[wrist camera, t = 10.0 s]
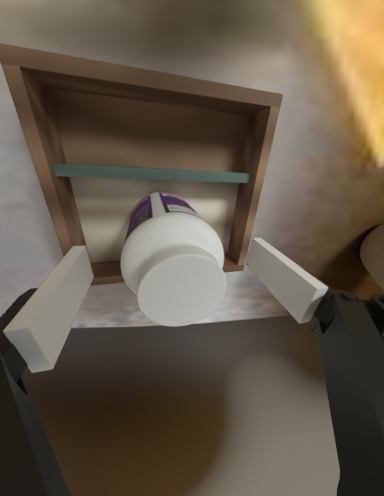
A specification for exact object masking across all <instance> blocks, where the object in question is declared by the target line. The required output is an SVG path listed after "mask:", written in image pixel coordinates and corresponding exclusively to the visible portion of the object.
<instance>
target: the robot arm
mask: <svg viewBox="0 0 384 496" xmlns="http://www.w3.org/2000/svg"><path fill="white" fill-rule="evenodd" d="M246 265H247V266H248V267H249V268H250V269H251V271H252V272H253V273H254V274H255V275H256V276H257V277H258V278H259V279H260V281H261V282H262V283H263V284H264V285H265V286H266V287H267V288H268V289H269V291H270V292H271V293H272V294H273V295H274V296H275V297H276V298H277V299H278V300H279V302H280V303H281V304H282V305H283V306H284V307H285V308H286V309H287V310H288V312H289V313H290V314H291V315H292V316H293V317H294V318H295V319H296V320H297V322H298V323H299V324H300V323H305V322H310V320H311V318H312V316H313V315H315V316H316V317H317V318H318V319H317V321H316V322H315V324H314V326H313V328H312V329H311V332H312V333H313V332H314V330H315V329H317V333H316V334H317V335H318V340H319V346H320V352H321V358H322V364H323V369H324V376H325V382H326V388H327V394H328V400H329V406H330V412H331V418H332V424H333V430H334V436H335V442H336V448H337V454H338V460H339V466H340V479H339V483H338V487H337V496H384V295H381V294H373V295H372V296H371V298H370V299H369V300H362V299H360V298H359V297H357V296H356V295H354V294H352V293H350V292H347V291H344V290H334V289H332V288H331V287H329V286H328V285H327V284H325V283H324V282H322V281H321V280H320V279H318V278H317V277H315V276H314V275H313V274H311V273H310V272H309V271H307V270H306V269H304V268H303V267H301V266H299V265H297V264H296V263H294V262H293V261H291V260H290V259H289V258H287V257H286V256H285V255H283V254H282V253H281V252H279V251H278V250H276V249H275V248H274V247H272V246H271V245H270V244H268V243H267V242H265V241H264V240H263V239H261V238H252V242H251V246H250V250H249V254H248V258H247V262H246ZM93 278H94V276H93V272H92V268H91V265H90V261H89V257H88V253H87V249H86V246H73V247H72V248H71V249H70V250H69V252H68V253H67V254H66V255H65V257H64V258H63V259H62V260H61V261H60V263H59V264H58V265H57V266H56V267H55V269H54V270H53V271H52V272H51V274H50V275H49V276H48V277H47V278H46V280H45V281H44V282H43V283H42V284H41V286H40V287H39V288H33V289H30V290H28V291H27V292H25V293H24V294H22V295H21V296H19V297H18V299H17V300H16V301H15V302H14V303H13V304H12V306H10V307H9V308H8V309H7V311H6V313H4V314H3V315H2V316H1V317H0V496H72V495H71V493H70V490H69V488H68V485H67V483H66V481H65V478H64V476H63V473H62V471H61V468H60V466H59V463H58V461H57V459H56V456H55V454H54V451H53V449H52V447H51V444H50V442H49V439H48V437H47V434H46V432H45V430H44V427H43V425H42V422H41V420H40V417H39V415H38V413H37V410H36V408H35V405H34V403H33V400H32V398H31V395H30V393H29V391H28V388H27V386H26V384H25V381H24V379H23V378H22V377H21V375H22V373H23V372H24V370H25V368H26V366H28V368H29V369H30V370H31V372H32V373H35V372H40V371H46V370H51V369H53V368H54V365H55V363H56V361H57V359H58V356H59V354H60V352H61V350H62V347H63V345H64V343H65V340H66V338H67V336H68V334H69V332H70V329H71V327H72V325H73V323H74V320H75V318H76V316H77V314H78V311H79V309H80V307H81V305H82V302H83V300H84V298H85V296H86V293H87V291H88V289H89V287H90V284H91V282H92V280H93Z"/></svg>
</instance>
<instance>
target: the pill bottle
mask: <svg viewBox="0 0 384 496" xmlns="http://www.w3.org/2000/svg"><path fill="white" fill-rule="evenodd" d="M120 263H121V272H122V276H123V279H124V281H125V283H126V285H127V286H128V287H129V289H130V290H131V291H132V292H133V293H134V294H135V295H136V296H137V302H138V306H139V308H140V310H141V312H142V313H143V314H144V315H145V316H146V317H147V318H148V319H149V320H151V321H152V322H154V323H157V324H160V325H164V326H184V325H189V324H192V323H195V322H197V321H199V320H201V319H203V318H205V317H206V316H208V315H209V314H210V313H212V312H213V311H214V310H215V309H216V308H217V307H218V305H219V304H220V303H221V301H222V299H223V297H224V295H225V291H226V285H227V282H226V276H225V273H224V271H223V269H222V268H223V264H224V250H223V246H222V243H221V240H220V238H219V236H218V235H217V233H216V232H215V230H214V229H213V228H212V227H211V226H210V225H209V224H208V223H207V222H206V221H205V220H204V219H203V218H202V217H201V216H200V215H199V214H198V213H197V212H196V211H195V210H194V209H193V208H192V207H191V206H190V205H189V204H188V203H187V202H186V201H185V200H184V199H182V198H181V197H180V196H178V195H176V194H173V193H169V192H155V193H152V194H149V195H147V196H145V197H144V198H142V199H141V200H140V201H139V202H138V203H137V205H136V206H135V208H134V210H133V212H132V215H131V219H130V223H129V227H128V231H127V235H126V238H125V242H124V246H123V249H122V254H121V262H120Z"/></svg>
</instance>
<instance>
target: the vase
mask: <svg viewBox="0 0 384 496" xmlns="http://www.w3.org/2000/svg"><path fill="white" fill-rule="evenodd" d="M360 258H361V260H362V262H363V264H364V266H365V268H366V269H367V271H368V272H369V274H370V275H371V276H372V278H373V279H374V280H375V281H376V283H377V284H378V285H379V286H380V287H381V288H382V289H383V290H384V224H382V225H380V226H378V227H376V228H375V229H374V230H372V231H371V232H370V233H369V234H368V235H367V236H366V237H365V239H364V240H363V242H362V244H361V247H360Z"/></svg>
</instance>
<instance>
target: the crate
mask: <svg viewBox="0 0 384 496" xmlns="http://www.w3.org/2000/svg"><path fill="white" fill-rule="evenodd" d="M0 62H1V65H2V68H3V71H4V74H5V77H6V80H7V83H8V86H9V89H10V92H11V95H12V98H13V102H14V105H15V108H16V111H17V114H18V117H19V120H20V123H21V126H22V129H23V132H24V135H25V138H26V141H27V144H28V147H29V151H30V154H31V157H32V160H33V163H34V166H35V169H36V172H37V175H38V178H39V181H40V184H41V187H42V190H43V193H44V196H45V200H46V203H47V206H48V209H49V212H50V215H51V218H52V221H53V224H54V227H55V230H56V233H57V236H58V239H59V242H60V245H61V249H62V252H63V255H64V257H65V255H66V254H67V253H68V252H69V250H70V249H71V248H72V247H73V246H86V249H87V253H88V257H89V261H90V265H91V268H92V272H93V276H94V278H93V280H92V282H91V284H90V285H99V284H109V283H120V282H125V281H124V279H123V276H122V272H121V263H120V262H121V254H122V249H123V246H124V242H125V238H126V235H127V231H128V227H129V223H130V219H131V215H132V212H133V210H134V208H135V206H136V205H137V203H138V202H139V201H140V200H141V199H142V198H144V197H145V196H147V195H149V194H152V193H155V192H169V193H173V194H176V195H178V196H180V197H181V198H182V199H184V200H185V201H186V202H187V203H188V204H189V205H190V206H191V207H192V208H193V209H194V210H195V211H196V212H197V213H198V214H199V215H200V216H201V217H202V218H203V219H204V220H205V221H206V222H207V223H208V224H209V225H210V226H211V227H212V228H213V229H214V230H215V232H216V233H217V235H218V236H219V238H220V240H221V243H222V246H223V250H224V264H223V268H222V269H223V271H224V272H234V271H243V268H244V264H245V259H246V255H247V251H248V246H249V242H250V237H251V233H252V229H253V224H254V220H255V215H256V211H257V207H258V202H259V198H260V193H261V189H262V185H263V180H264V176H265V171H266V167H267V163H268V158H269V154H270V149H271V145H272V141H273V136H274V132H275V127H276V123H277V119H278V114H279V110H280V105H281V101H282V97H283V94H278V93H272V92H267V91H261V90H256V89H250V88H244V87H239V86H233V85H228V84H222V83H217V82H211V81H206V80H200V79H194V78H189V77H183V76H178V75H172V74H167V73H161V72H156V71H150V70H144V69H139V68H133V67H128V66H122V65H117V64H111V63H106V62H100V61H94V60H89V59H83V58H78V57H72V56H67V55H61V54H56V53H50V52H44V51H39V50H33V49H28V48H22V47H17V46H11V45H6V44H0Z"/></svg>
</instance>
